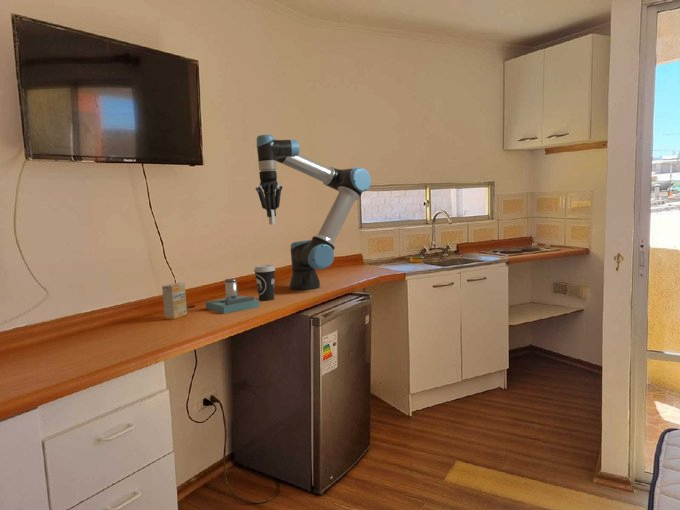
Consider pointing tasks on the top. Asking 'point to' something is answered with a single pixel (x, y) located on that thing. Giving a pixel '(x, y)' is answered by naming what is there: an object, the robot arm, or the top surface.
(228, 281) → the metal cylinder
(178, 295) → the supplement box
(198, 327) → the top surface
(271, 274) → the coffee cup
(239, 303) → the jig
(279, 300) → the top surface
